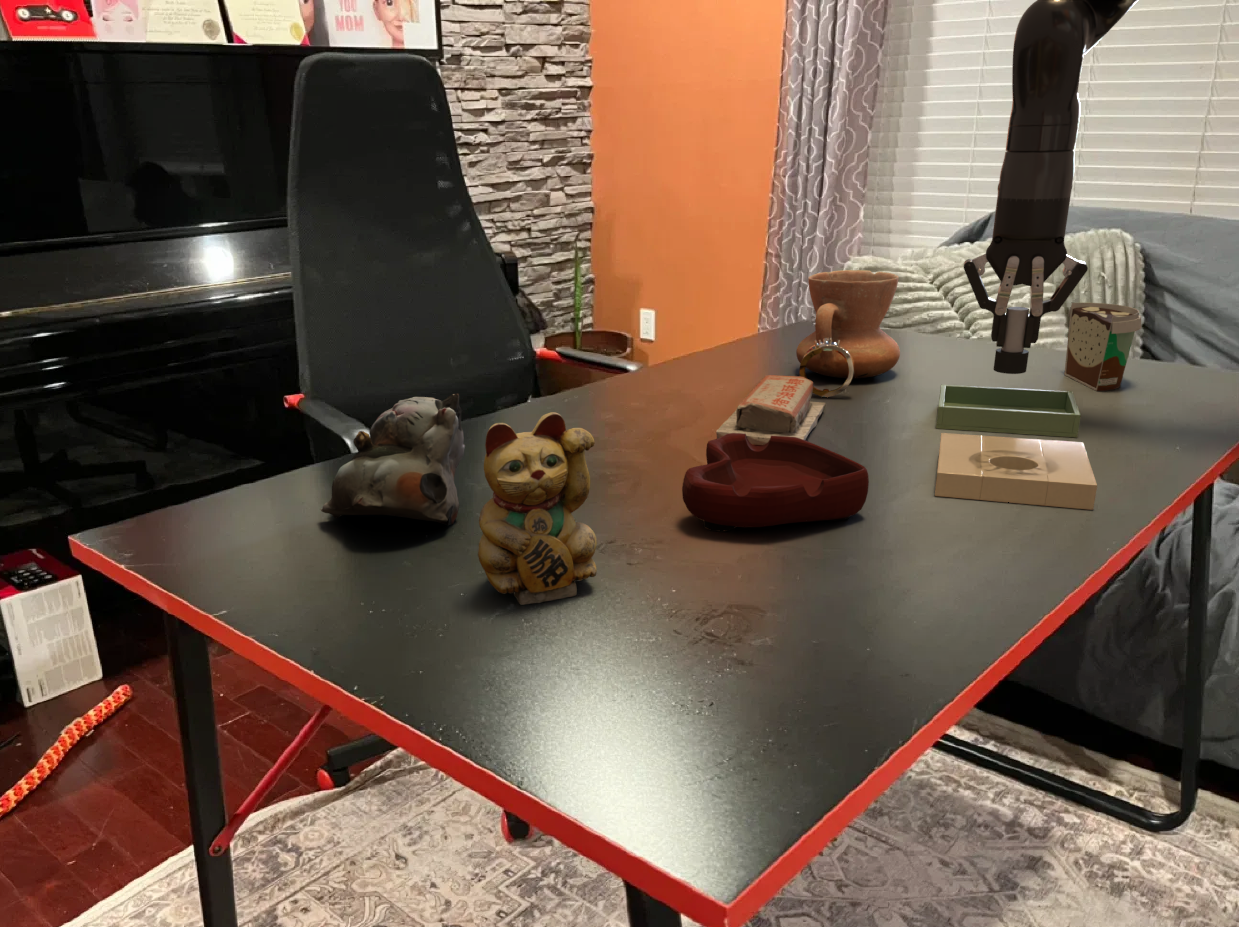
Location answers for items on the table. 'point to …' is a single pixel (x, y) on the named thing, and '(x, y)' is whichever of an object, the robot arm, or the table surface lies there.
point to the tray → (1008, 410)
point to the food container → (1100, 343)
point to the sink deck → (1015, 471)
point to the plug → (1013, 343)
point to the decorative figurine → (536, 511)
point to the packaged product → (775, 410)
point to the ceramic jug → (851, 322)
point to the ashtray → (772, 484)
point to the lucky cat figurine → (404, 464)
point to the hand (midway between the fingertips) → (1013, 345)
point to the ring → (828, 346)
